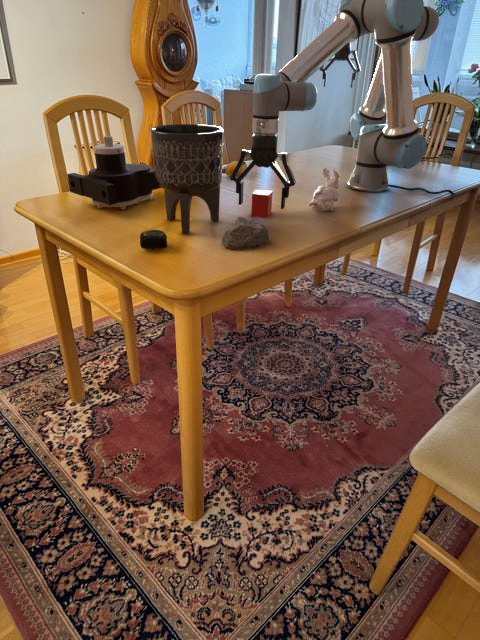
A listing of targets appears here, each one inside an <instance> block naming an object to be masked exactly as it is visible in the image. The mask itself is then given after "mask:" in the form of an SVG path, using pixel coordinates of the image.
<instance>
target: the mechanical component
mask: <svg viewBox="0 0 480 640" xmlns="http://www.w3.org/2000/svg"><path fill="white" fill-rule="evenodd" d="M103 142H104V143H101V144H97V145H94V147H93V150H94V159H95V166H96V168H93V169H90V170H88V174H80V173H76V172H70V173H67V181H68V187H69V192H70V193H72V194H75V195H77V196H81V197H86V198H89V199H91V200H92V204H94V205H95V206H96V207H97V208H98V209H102V208H103V207H105V208H120V210H126V208H127V207H128V206H132V205H140V201H147V200H148V201H152V200H153V197H154V196H153V195H154V192H153V191H154V190H158V189H162V188H161V187H160V186H159V185H158V184H157V181H156V175H155V167H151V165H148V164H142V163H127V159H126V148H125V145H124V144H121V143H114V139H113V135H112V136H111V135H110V136H109V135H108V136H107V135H104V136H103Z"/></svg>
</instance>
